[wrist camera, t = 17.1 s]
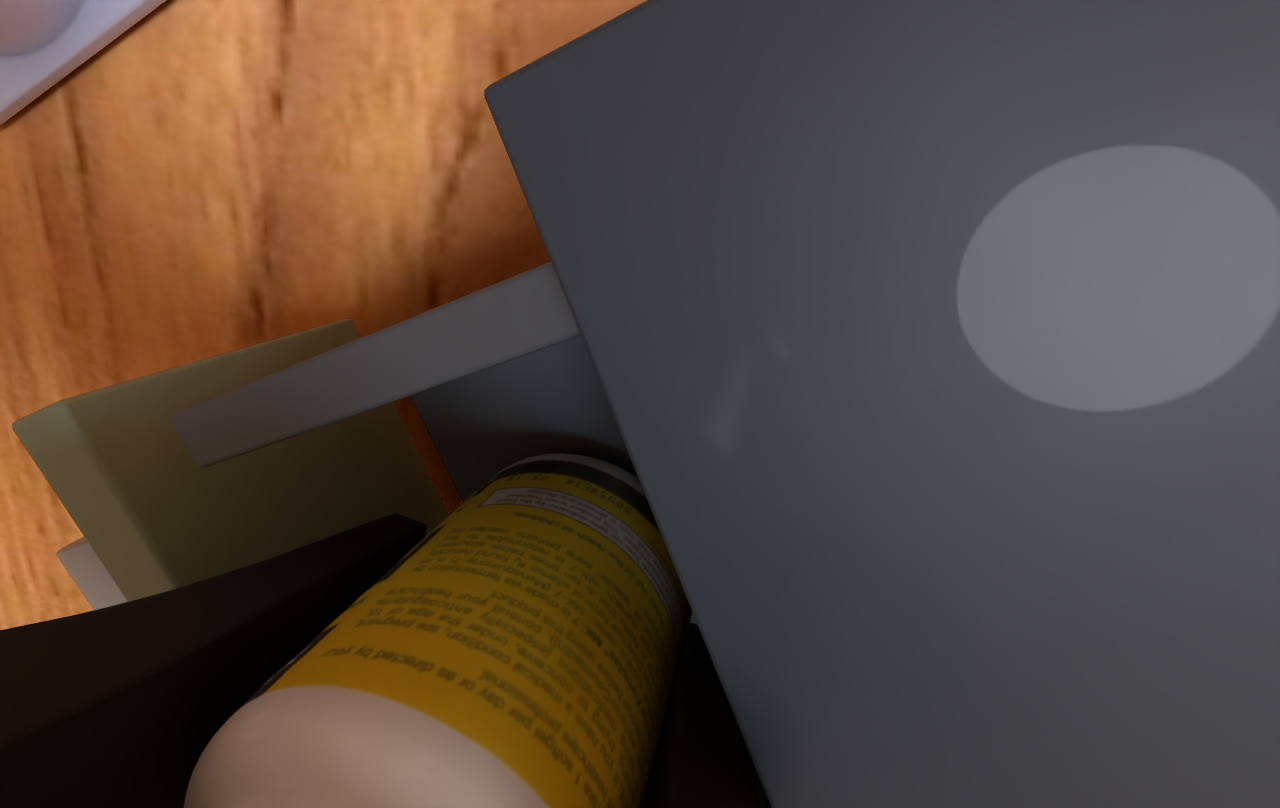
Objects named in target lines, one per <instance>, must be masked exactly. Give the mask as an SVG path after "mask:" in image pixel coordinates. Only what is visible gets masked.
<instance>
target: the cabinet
mask: <svg viewBox="0 0 1280 808" xmlns="http://www.w3.org/2000/svg"><path fill="white" fill-rule="evenodd" d="M484 94H485V99H486V101H487V104H488V106H489V109H490V111H491V114H492V116H493V119H494V121H495V124H496V126H497V129H498V131H499V134H500V136H501V139H502V141H503V143H504V146H505V148H506V151H507V153H508V156H509V158H510V161H511V163H512V166H513V168H514V171H515V173H516V176H517V178H518V181H519V183H520V186H521V188H522V191H523V193H524V196H525V198H526V200H527V203H528V205H529V208H530V210H531V213H532V215H533V218H534V220H535V223H536V225H537V228H538V230H539V233H540V235H541V238H542V240H543V243H544V245H545V248H546V250H547V253H548V255H549V257H550V260H551V262H552V265H553V267H554V270H555V272H556V275H557V277H558V280H559V282H560V285H561V287H562V290H563V292H564V295H565V297H566V300H567V302H568V305H569V307H570V310H571V312H572V314H573V317H574V319H575V322H576V324H577V327H578V329H579V332H580V334H581V337H582V339H583V342H584V344H585V347H586V349H587V352H588V354H589V357H590V359H591V362H592V364H593V367H594V369H595V372H596V374H597V376H598V379H599V381H600V384H601V386H602V389H603V391H604V394H605V396H606V399H607V401H608V404H609V406H610V409H611V411H612V414H613V416H614V419H615V421H616V424H617V426H618V429H619V431H620V433H621V436H622V438H623V441H624V443H625V446H626V448H627V451H628V453H629V456H630V458H631V461H632V463H633V466H634V468H635V471H636V473H637V476H638V478H639V481H640V483H641V486H642V488H643V490H644V493H645V495H646V498H647V500H648V503H649V505H650V508H651V510H652V513H653V515H654V518H655V520H656V523H657V525H658V528H659V530H660V533H661V535H662V538H663V540H664V543H665V545H666V547H667V550H668V552H669V555H670V557H671V560H672V562H673V565H674V567H675V570H676V572H677V575H678V577H679V580H680V582H681V585H682V587H683V590H684V592H685V595H686V597H687V600H688V602H689V604H690V607H691V609H692V612H693V614H694V617H695V619H696V622H697V624H698V627H699V629H700V632H701V634H702V637H703V639H704V642H705V644H706V647H707V649H708V652H709V654H710V657H711V659H712V661H713V664H714V666H715V669H716V671H717V674H718V676H719V679H720V681H721V684H722V686H723V689H724V691H725V694H726V696H727V699H728V701H729V704H730V706H731V709H732V711H733V714H734V716H735V718H736V721H737V723H738V726H739V728H740V731H741V733H742V736H743V738H744V741H745V743H746V746H747V748H748V751H749V753H750V756H751V758H752V761H753V763H754V766H755V768H756V771H757V773H758V775H759V778H760V780H761V783H762V785H763V788H764V790H765V793H766V795H767V798H768V800H769V803H770V805H771V808H1280V0H647V1H645V2H643V3H641V4H640V5H638V6H636V7H634V8H632V9H630V10H628V11H626V12H625V13H623V14H621V15H619V16H617V17H615V18H613V19H612V20H610V21H608V22H606V23H604V24H602V25H600V26H599V27H597V28H595V29H593V30H591V31H589V32H587V33H586V34H584V35H582V36H580V37H578V38H576V39H574V40H573V41H571V42H569V43H567V44H565V45H563V46H561V47H559V48H558V49H556V50H554V51H552V52H550V53H548V54H546V55H545V56H543V57H541V58H539V59H537V60H535V61H533V62H532V63H530V64H528V65H526V66H524V67H522V68H520V69H519V70H517V71H515V72H513V73H511V74H509V75H507V76H506V77H504V78H502V79H500V80H498V81H496V82H494V83H492V84H491V85H489V86H488V87H487V88H486V89H485V91H484Z"/></svg>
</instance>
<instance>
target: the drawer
mask: <svg viewBox="0 0 1280 808" xmlns="http://www.w3.org/2000/svg"><path fill="white" fill-rule="evenodd" d="M408 396H411V397H412V399H413V401H414V403H415V405H416V407H417V409H418V411H419V413H420V415H421V417H422V419H423V421H424V423H425V425H426V427H427V429H428V432H429V434H430V436H431V438H432V440H433V442H434V444H435V446H436V448H437V450H438V452H439V454H440V456H441V458H442V460H443V462H444V464H445V466H446V468H447V471H448V473H449V475H450V477H451V479H452V481H453V483H454V485H455V487H456V489H457V491H458V493H459V495H460V497H461V499H462V501H463V502H464V501H465V500H467V499H468V498H469V497H470V496H471V495H472V494H473V493H474V492H475V491H477V490H478V489H479V488H480V487H481V486H482V485H483V484H484V483H486V482H487V481H488V480H489V479H490V478H491V477H493V476H494V475H495V474H497V473H498V472H500V471H501V470H502V469H504V468H506V467H508V466H510V465H511V464H513V463H516V462H518V461H521V460H524V459H526V458H530V457H534V456H538V455H545V454H558V453H562V454H574V455H582V456H587V457H592V458H596V459H599V460H602V461H606V462H608V463H611V464H613V465H616V466H618V467H620V468H622V469H624V470H626V471H628V472H630V473H631V474H633V475H635V476H636V477H638V476H637V473H636V471H635V468H634V466H633V463H632V461H631V458H630V456H629V453H628V451H627V448H626V446H625V443H624V441H623V438H622V436H621V433H620V431H619V429H618V426H617V424H616V421H615V419H614V416H613V414H612V411H611V409H610V406H609V404H608V401H607V399H606V396H605V394H604V391H603V389H602V386H601V384H600V381H599V379H598V376H597V374H596V372H595V369H594V367H593V364H592V362H591V359H590V357H589V354H588V352H587V349H586V347H585V344H584V342H583V339H582V337H581V334H580V332H579V329H578V327H577V324H576V322H575V319H574V317H573V314H572V312H571V310H570V307H569V305H568V302H567V300H566V297H565V295H564V292H563V290H562V287H561V285H560V282H559V280H558V277H557V275H556V272H555V270H554V267H553V265H552V262H551V261H549V262H547V263H544V264H542V265H539V266H537V267H534V268H532V269H530V270H527V271H525V272H522V273H520V274H517V275H515V276H512V277H510V278H507V279H505V280H502V281H500V282H498V283H495V284H493V285H490V286H488V287H485V288H483V289H480V290H478V291H475V292H473V293H470V294H468V295H465V296H463V297H461V298H458V299H456V300H453V301H451V302H448V303H446V304H443V305H441V306H438V307H436V308H433V309H431V310H428V311H426V312H424V313H421V314H419V315H416V316H414V317H411V318H409V319H406V320H404V321H401V322H399V323H396V324H394V325H391V326H389V327H387V328H384V329H382V330H379V331H377V332H374V333H372V334H369V335H367V336H364V337H362V338H361V336H360V334H359V332H358V330H357V328H356V326H355V324H354V322H353V320H352V319H344V320H340V321H337V322H333V323H330V324H326V325H323V326H319V327H316V328H312V329H309V330H305V331H302V332H298V333H295V334H291V335H288V336H284V337H281V338H277V339H274V340H270V341H266V342H263V343H259V344H256V345H252V346H249V347H245V348H242V349H238V350H235V351H231V352H228V353H224V354H221V355H217V356H214V357H210V358H207V359H203V360H200V361H196V362H193V363H189V364H186V365H182V366H179V367H175V368H172V369H168V370H165V371H161V372H158V373H154V374H151V375H147V376H144V377H140V378H137V379H133V380H130V381H126V382H123V383H119V384H116V385H112V386H109V387H105V388H102V389H98V390H95V391H91V392H88V393H84V394H81V395H77V396H74V397H70V398H67V399H63V400H60V401H58V402H56V403H54V404H51V405H49V406H47V407H45V408H43V409H41V410H38V411H36V412H34V413H32V414H30V415H27V416H25V417H23V418H21V419H19V420H17V421H16V422H14V423H13V424H12V427H13V430H14V432H15V433H16V435H17V436H18V438H19V439H20V441H21V442H22V444H23V445H24V447H25V448H26V450H27V451H28V453H29V454H30V456H31V457H32V459H33V460H34V462H35V463H36V465H37V466H38V468H39V469H40V471H41V472H42V474H43V475H44V477H45V478H46V480H47V481H48V483H49V484H50V486H51V487H52V489H53V490H54V492H55V493H56V495H57V496H58V498H59V499H60V501H61V502H62V504H63V505H64V507H65V508H66V510H67V511H68V513H69V514H70V516H71V517H72V519H73V520H74V522H75V523H76V525H77V526H78V528H79V529H80V531H81V532H82V534H83V535H84V537H83V538H81V539H79V540H76V541H75V542H73V543H71V544H69V545H67V546H65V547H63V548H62V549H60V550H59V551H58V552H57V557H58V558H59V560H60V561H61V563H62V564H63V565H64V567H65V568H66V570H67V571H68V573H69V574H70V576H71V577H72V579H73V580H74V582H75V583H76V584H77V586H78V587H79V589H80V590H81V592H82V593H83V595H84V596H85V598H86V599H87V601H88V602H89V603H90V605H91V606H92V608H93V609H94V610H98V609H102V608H106V607H110V606H113V605H117V604H121V603H125V602H129V601H133V600H137V599H141V598H145V597H148V596H152V595H155V594H159V593H163V592H166V591H170V590H173V589H176V588H180V587H183V586H187V585H190V584H193V583H196V582H199V581H202V580H205V579H208V578H211V577H215V576H218V575H221V574H224V573H227V572H230V571H233V570H236V569H239V568H242V567H245V566H249V565H252V564H255V563H258V562H261V561H264V560H267V559H270V558H272V557H275V556H278V555H281V554H283V553H286V552H289V551H292V550H294V549H297V548H300V547H303V546H305V545H308V544H311V543H314V542H316V541H319V540H322V539H325V538H327V537H330V536H333V535H335V534H338V533H341V532H343V531H346V530H349V529H351V528H354V527H357V526H360V525H362V524H365V523H368V522H371V521H373V520H376V519H379V518H382V517H385V516H388V515H391V514H394V513H397V514H400V515H403V516H405V517H408V518H411V519H413V520H416V521H419V522H422V523H424V524H427V530H426V536H427V535H428V534H429V533H430V532H432V531H433V530H434V529H435V528H436V527H437V526H438V525H440V524H441V523H442V522H443V521H444V520H445V519H446V518H447V517H448V516H449V513H448V511H447V509H446V507H445V505H444V503H443V501H442V499H441V497H440V495H439V493H438V491H437V489H436V487H435V485H434V483H433V481H432V479H431V477H430V475H429V473H428V471H427V469H426V467H425V465H424V463H423V461H422V459H421V457H420V455H419V453H418V451H417V449H416V447H415V445H414V443H413V441H412V439H411V437H410V435H409V433H408V431H407V429H406V427H405V425H404V423H403V421H402V419H401V417H400V414H399V412H398V410H397V408H396V406H395V404H394V401H397V400H399V399H402V398H405V397H408ZM690 622H691V623H694V624H697V622H696V619H695V617H694V614H693V613H692V617H691V621H690ZM689 625H690V624H689ZM697 625H698V624H697ZM752 762H753V761H752ZM753 766H754V763H753ZM754 770H755V774H756V778H757V782H758V785H759V789H760V793H761V797H762V800H763V804H764V807H765V808H771V805H770V803H769V800H768V798H767V795H766V793H765V790H764V788H763V785H762V783H761V780H760V778H759V775H758V773H757V771H756V768H755V766H754Z"/></svg>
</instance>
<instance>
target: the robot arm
mask: <svg viewBox="0 0 1280 808" xmlns="http://www.w3.org/2000/svg"><path fill="white" fill-rule="evenodd" d="M165 1H166V0H0V125H2V124H3V123H4V122H6V121H7V120H8V119H10V118H11V117H12V116H14V115H15V114H16V113H17V112H19V111H20V110H21V109H23V108H24V107H25V106H27V105H28V104H29V103H31V102H32V101H33V100H35V99H36V98H37V97H39V96H40V95H41V94H43V93H44V92H45V91H47V90H48V89H49V88H51V87H52V86H53V85H55V84H56V83H57V82H59V81H60V80H61V79H63V78H64V77H65V76H67V75H68V74H69V73H71V72H72V71H73V70H75V69H76V68H77V67H79V66H80V65H81V64H83V63H84V62H85V61H87V60H88V59H89V58H91V57H92V56H93V55H95V54H96V53H97V52H99V51H100V50H101V49H103V48H104V47H105V46H107V45H108V44H109V43H110V42H112V41H113V40H114V39H116V38H117V37H118V36H120V35H121V34H122V33H124V32H125V31H126V30H128V29H129V28H130V27H132V26H133V25H134V24H136V23H137V22H138V21H140V20H141V19H142V18H144V17H145V16H146V15H148V14H149V13H150V12H152V11H153V10H154V9H156V8H157V7H158V6H160V5H161V4H162V3H164V2H165ZM426 530H427V524H424V523H422V522H419V521H416V520H413V519H411V518H408V517H405V516H403V515H400V514H397V513H394V514H391V515H388V516H385V517H382V518H379V519H376V520H373V521H371V522H368V523H365V524H362V525H360V526H357V527H354V528H351V529H349V530H346V531H343V532H341V533H338V534H335V535H333V536H330V537H327V538H325V539H322V540H319V541H316V542H314V543H311V544H308V545H305V546H303V547H300V548H297V549H294V550H292V551H289V552H286V553H283V554H281V555H278V556H275V557H272V558H270V559H267V560H264V561H261V562H258V563H255V564H252V565H249V566H245V567H242V568H239V569H236V570H233V571H230V572H227V573H224V574H221V575H218V576H215V577H211V578H208V579H205V580H202V581H199V582H196V583H193V584H190V585H187V586H183V587H180V588H176V589H173V590H170V591H166V592H163V593H159V594H155V595H152V596H148V597H145V598H141V599H137V600H133V601H129V602H125V603H121V604H117V605H113V606H110V607H106V608H102V609H98V610H94V611H90V612H85V613H81V614H77V615H73V616H68V617H63V618H58V619H54V620H49V621H44V622H39V623H34V624H29V625H24V626H19V627H14V628H10V629H5V630H0V808H184V802H185V796H186V792H187V788H188V784H189V781H190V778H191V775H192V772H193V770H194V768H195V766H196V764H197V762H198V760H199V758H200V756H201V754H202V752H203V750H204V749H205V748H206V746H207V745H208V743H209V742H210V740H211V739H212V737H213V736H214V735H215V734H216V732H217V731H218V730H219V729H220V728H221V727H222V726H223V725H224V723H225V722H226V721H227V720H228V719H229V718H230V717H231V716H232V715H233V714H234V713H235V712H236V711H237V710H238V709H240V708H241V706H242V705H243V704H244V703H245V702H246V701H247V700H248V699H249V698H250V697H251V696H252V695H253V694H254V693H255V692H256V691H257V690H258V689H259V688H261V687H262V686H263V685H264V684H265V683H266V682H267V681H268V680H269V679H270V678H271V677H273V676H274V675H275V674H276V673H277V672H278V671H280V670H281V669H282V668H283V667H284V666H285V665H287V664H288V663H289V662H290V661H291V660H292V659H293V658H294V657H295V656H297V655H298V654H299V653H300V652H301V651H302V650H303V649H304V648H305V647H306V646H307V645H308V644H309V643H310V642H311V641H312V639H314V638H315V637H316V636H317V635H318V634H319V633H321V632H322V631H323V630H324V629H326V628H327V627H328V626H329V625H330V624H331V623H332V622H333V621H334V620H335V619H336V618H338V617H339V616H340V615H341V614H342V613H343V612H344V611H346V610H347V609H348V608H349V607H350V606H351V605H352V604H353V603H354V602H355V601H356V600H357V599H358V598H359V597H360V596H361V595H362V594H364V593H365V592H366V591H367V590H368V589H369V588H370V587H371V586H372V585H373V584H375V583H376V582H377V581H378V580H379V579H380V578H381V577H382V576H383V575H385V574H386V573H387V572H388V571H389V570H390V569H391V568H392V567H393V566H394V565H395V564H396V563H398V562H399V561H400V560H401V559H402V558H403V557H404V556H405V555H406V554H407V553H408V552H409V551H411V550H412V549H413V548H414V547H415V546H416V545H417V544H418V543H419V542H420V541H422V540H423V539H424V538H425V537H426ZM641 808H765V807H764V804H763V800H762V797H761V793H760V789H759V785H758V782H757V778H756V774H755V770H754V766H753V762H752V758H751V756H750V753H749V751H748V748H747V746H746V743H745V741H744V738H743V736H742V733H741V731H740V728H739V726H738V723H737V721H736V718H735V716H734V714H733V711H732V709H731V706H730V704H729V701H728V699H727V696H726V694H725V691H724V689H723V686H722V684H721V681H720V679H719V676H718V674H717V671H716V669H715V666H714V664H713V661H712V659H711V657H710V654H709V652H708V649H707V647H706V644H705V642H704V639H703V637H702V634H701V632H700V629H699V627H698V625H697V624H694V623H691V622H690V625H689V628H688V631H687V634H686V637H685V640H684V643H683V646H682V648H681V651H680V655H679V659H678V663H677V667H676V670H675V674H674V678H673V682H672V686H671V690H670V694H669V697H668V701H667V706H666V711H665V715H664V720H663V724H662V729H661V733H660V737H659V741H658V745H657V749H656V753H655V757H654V761H653V764H652V768H651V772H650V777H649V780H648V784H647V788H646V791H645V795H644V799H643V803H642V807H641Z"/></svg>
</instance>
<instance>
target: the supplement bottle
mask: <svg viewBox="0 0 1280 808" xmlns="http://www.w3.org/2000/svg"><path fill="white" fill-rule="evenodd" d="M692 613H693V612H692V609H691V607H690V604H689V602H688V600H687V597H686V595H685V592H684V590H683V587H682V585H681V582H680V580H679V577H678V575H677V572H676V570H675V567H674V565H673V562H672V560H671V557H670V555H669V552H668V550H667V547H666V545H665V543H664V540H663V538H662V535H661V533H660V530H659V528H658V525H657V523H656V520H655V518H654V515H653V513H652V510H651V508H650V505H649V503H648V500H647V498H646V495H645V493H644V490H643V488H642V486H641V483H640V481H639V478H638V477H636V476H635V475H633V474H631V473H630V472H628V471H626V470H624V469H622V468H620V467H618V466H616V465H613V464H611V463H608V462H606V461H602V460H599V459H596V458H592V457H587V456H582V455H574V454H562V453H558V454H545V455H538V456H534V457H530V458H526V459H524V460H521V461H518V462H516V463H513V464H511V465H510V466H508V467H506V468H504V469H502V470H501V471H500V472H498V473H497V474H495V475H494V476H493V477H491V478H490V479H489V480H488V481H487V482H486V483H484V484H483V485H482V486H481V487H480V488H479V489H478V490H477V491H475V492H474V493H473V494H472V495H471V496H470V497H469V498H468V499H467V500H465V501H464V502H463V503H462V504H461V505H460V506H459V507H458V508H457V509H456V510H455V511H454V512H453V513H452V514H450V515H449V516H448V517H447V518H446V519H445V520H444V521H443V522H442V523H441V524H440V525H438V526H437V527H436V528H435V529H434V530H433V531H432V532H430V533H429V534H428V535H427V536H426V537H425V538H424V539H423V540H422V541H420V542H419V543H418V544H417V545H416V546H415V547H414V548H413V549H412V550H411V551H409V552H408V553H407V554H406V555H405V556H404V557H403V558H402V559H401V560H400V561H399V562H398V563H396V564H395V565H394V566H393V567H392V568H391V569H390V570H389V571H388V572H387V573H386V574H385V575H383V576H382V577H381V578H380V579H379V580H378V581H377V582H376V583H375V584H373V585H372V586H371V587H370V588H369V589H368V590H367V591H366V592H365V593H364V594H362V595H361V596H360V597H359V598H358V599H357V600H356V601H355V602H354V603H353V604H352V605H351V606H350V607H349V608H348V609H347V610H346V611H344V612H343V613H342V614H341V615H340V616H339V617H338V618H336V619H335V620H334V621H333V622H332V623H331V624H330V625H329V626H328V627H327V628H326V629H324V630H323V631H322V632H321V633H319V634H318V635H317V636H316V637H315V638H314V639H312V641H311V642H310V643H309V644H308V645H307V646H306V647H305V648H304V649H303V650H302V651H301V652H300V653H299V654H298V655H297V656H295V657H294V658H293V659H292V660H291V661H290V662H289V663H288V664H287V665H285V666H284V667H283V668H282V669H281V670H280V671H278V672H277V673H276V674H275V675H274V676H273V677H271V678H270V679H269V680H268V681H267V682H266V683H265V684H264V685H263V686H262V687H261V688H259V689H258V690H257V691H256V692H255V693H254V694H253V695H252V696H251V697H250V698H249V699H248V700H247V701H246V702H245V703H244V704H243V705H242V706H241V708H240V709H238V710H237V711H236V712H235V713H234V714H233V715H232V716H231V717H230V718H229V719H228V720H227V721H226V722H225V723H224V725H223V726H222V727H221V728H220V729H219V730H218V731H217V732H216V734H215V735H214V736H213V737H212V739H211V740H210V742H209V743H208V745H207V746H206V748H205V749H204V750H203V752H202V754H201V756H200V758H199V760H198V762H197V764H196V766H195V768H194V770H193V772H192V775H191V778H190V781H189V784H188V788H187V792H186V796H185V802H184V808H641V807H642V803H643V799H644V795H645V791H646V788H647V784H648V780H649V777H650V772H651V768H652V764H653V761H654V757H655V753H656V749H657V745H658V741H659V737H660V733H661V729H662V724H663V720H664V715H665V711H666V706H667V701H668V697H669V694H670V690H671V686H672V682H673V678H674V674H675V670H676V667H677V663H678V659H679V655H680V651H681V648H682V646H683V643H684V640H685V637H686V634H687V631H688V628H689V624H690V621H691V617H692Z"/></svg>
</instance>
